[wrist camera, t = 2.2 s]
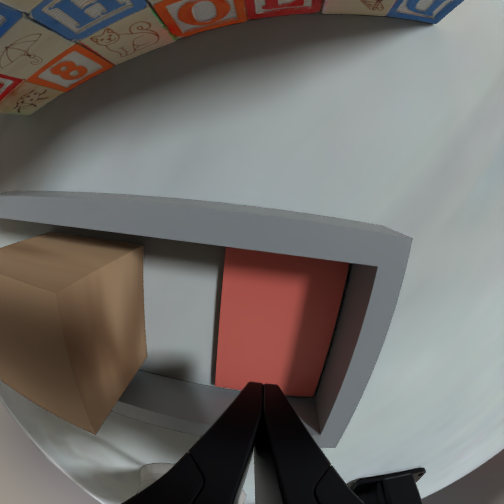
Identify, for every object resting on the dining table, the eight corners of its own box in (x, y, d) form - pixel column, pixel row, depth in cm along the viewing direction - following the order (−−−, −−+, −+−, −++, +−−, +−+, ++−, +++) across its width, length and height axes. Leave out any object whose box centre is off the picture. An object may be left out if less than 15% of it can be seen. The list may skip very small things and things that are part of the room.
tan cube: (147, 355, 12) (95, 434, 7) (63, 329, 12) (1, 381, 7) (144, 244, 11) (56, 293, 5) (52, 231, 11) (-33, 260, 6)
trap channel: (328, 411, 12) (335, 447, 10) (34, 343, 13) (11, 361, 10) (383, 226, 10) (412, 238, 7) (15, 191, 11) (-18, 195, 8)
